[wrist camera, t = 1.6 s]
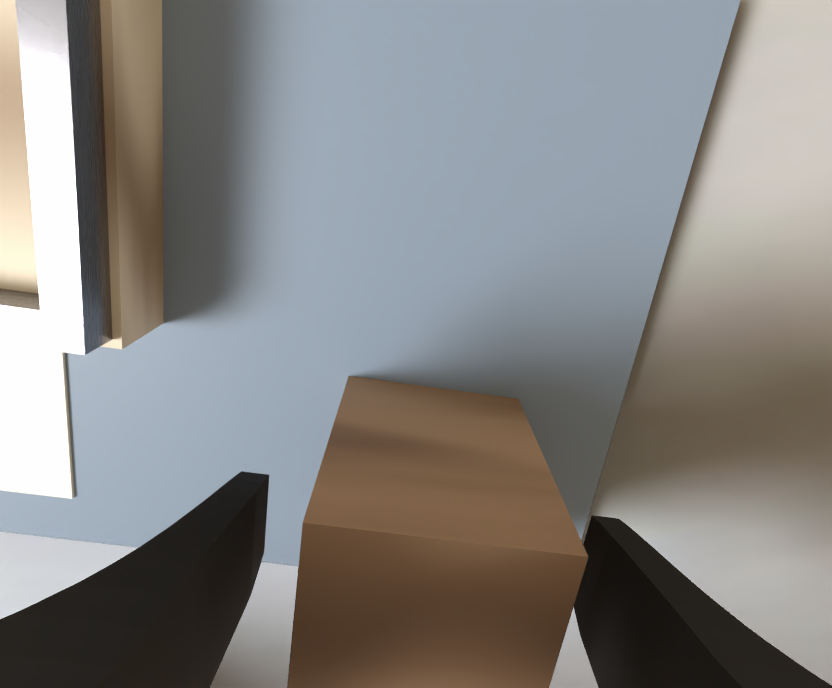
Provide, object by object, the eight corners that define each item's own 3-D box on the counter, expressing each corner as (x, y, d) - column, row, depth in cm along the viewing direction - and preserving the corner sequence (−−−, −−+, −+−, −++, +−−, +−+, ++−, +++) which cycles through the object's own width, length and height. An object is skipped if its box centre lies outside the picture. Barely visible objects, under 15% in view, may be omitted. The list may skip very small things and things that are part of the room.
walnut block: (486, 539, 15) (528, 756, 10) (332, 520, 15) (283, 730, 10) (518, 398, 14) (588, 556, 8) (348, 376, 14) (302, 522, 8)
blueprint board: (557, 577, 17) (596, 689, 13) (-164, 492, 16) (-333, 588, 12) (721, 4, 12) (854, -66, 8) (-319, -177, 11) (-685, -348, 7)
